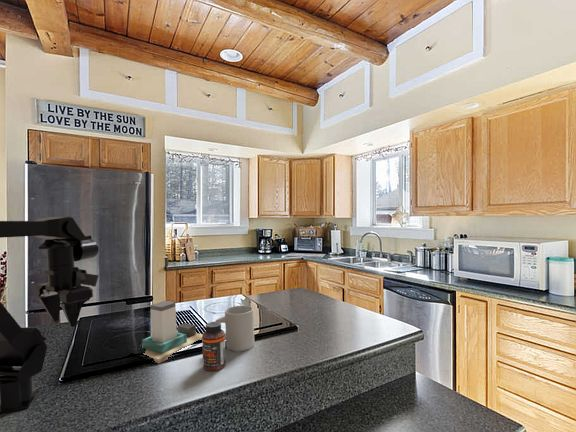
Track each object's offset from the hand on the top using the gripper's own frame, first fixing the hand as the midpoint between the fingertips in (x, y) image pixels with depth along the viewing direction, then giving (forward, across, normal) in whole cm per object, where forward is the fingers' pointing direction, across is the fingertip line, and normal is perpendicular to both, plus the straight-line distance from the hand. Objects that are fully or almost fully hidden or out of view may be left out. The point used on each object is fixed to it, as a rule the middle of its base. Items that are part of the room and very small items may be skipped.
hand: (64, 323), depth 84 cm
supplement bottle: (+13, -33, -21) cm, 41 cm away
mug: (+13, -30, -32) cm, 46 cm away
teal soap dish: (+13, -12, -24) cm, 29 cm away
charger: (+12, -12, -22) cm, 27 cm away
